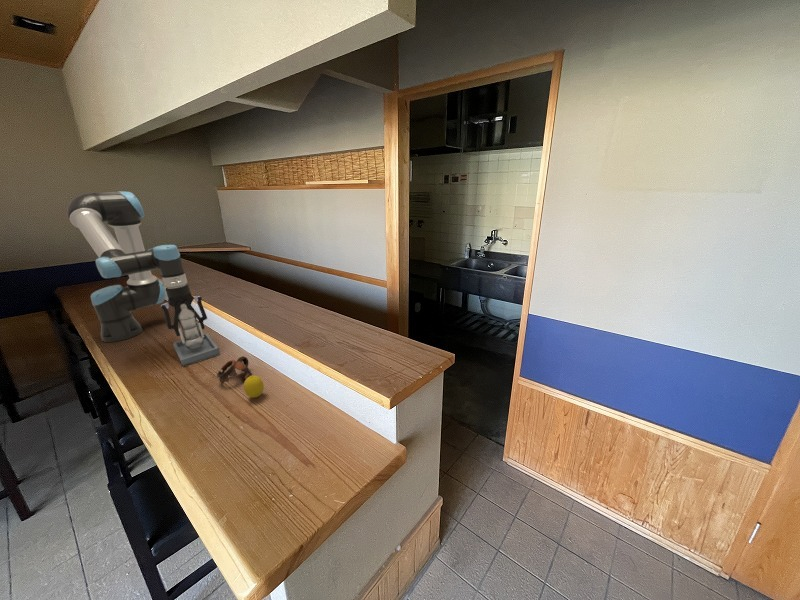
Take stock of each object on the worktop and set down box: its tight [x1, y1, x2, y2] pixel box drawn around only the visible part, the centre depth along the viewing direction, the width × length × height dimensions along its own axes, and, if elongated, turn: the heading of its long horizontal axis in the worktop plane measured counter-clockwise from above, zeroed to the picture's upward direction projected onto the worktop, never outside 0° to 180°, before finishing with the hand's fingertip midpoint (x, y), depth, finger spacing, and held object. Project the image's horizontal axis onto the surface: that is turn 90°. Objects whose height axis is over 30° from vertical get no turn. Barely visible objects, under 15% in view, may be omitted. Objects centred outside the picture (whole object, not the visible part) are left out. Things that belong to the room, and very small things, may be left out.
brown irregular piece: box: [216, 356, 253, 383], centre depth 112 cm, size 12×10×8 cm
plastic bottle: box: [178, 303, 204, 350], centre depth 129 cm, size 6×7×20 cm
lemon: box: [243, 375, 265, 398], centre depth 100 cm, size 6×6×8 cm
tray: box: [172, 332, 221, 368], centre depth 132 cm, size 20×13×3 cm, turn 42°
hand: (193, 339), depth 131 cm, fingers closed on plastic bottle, 6 cm apart
